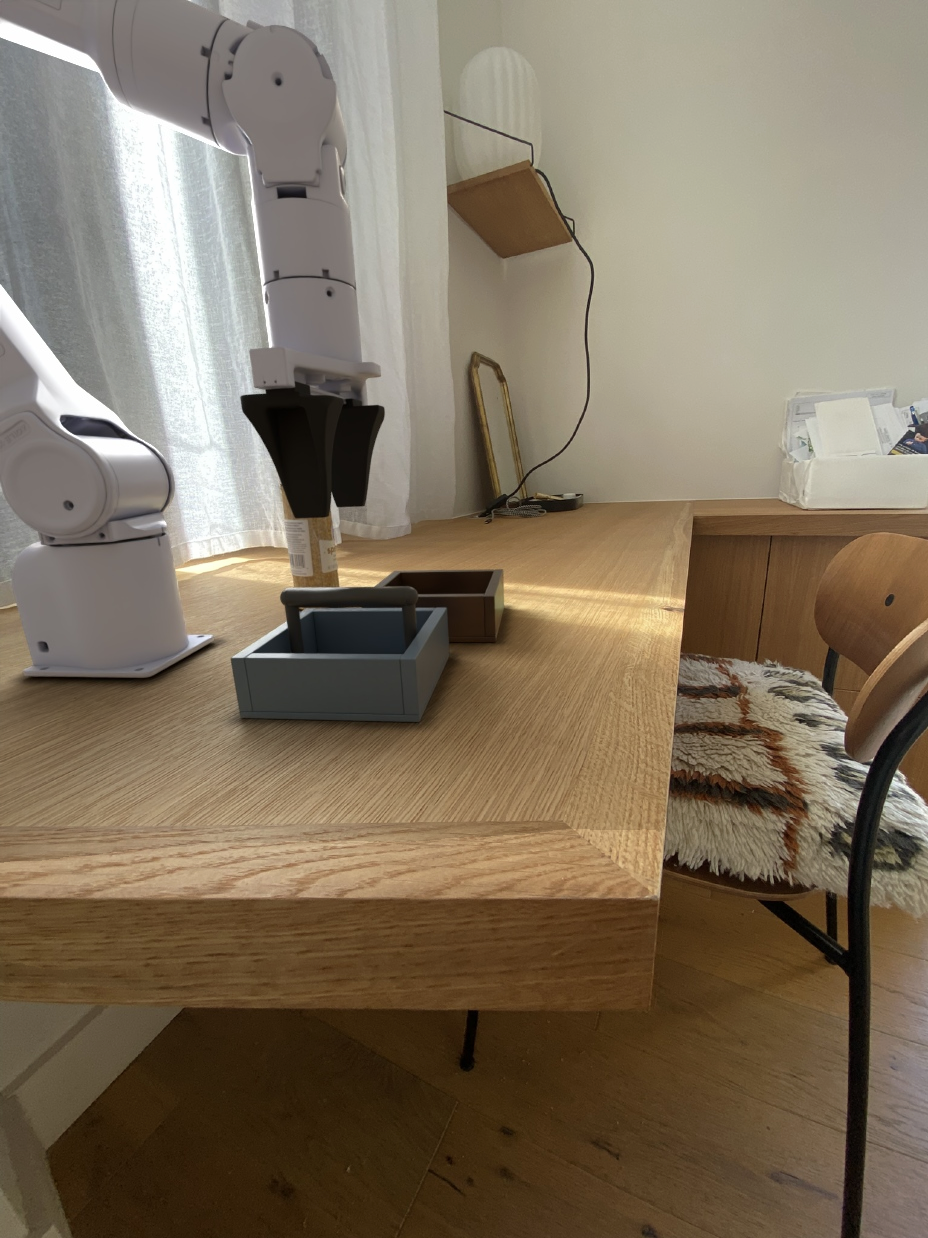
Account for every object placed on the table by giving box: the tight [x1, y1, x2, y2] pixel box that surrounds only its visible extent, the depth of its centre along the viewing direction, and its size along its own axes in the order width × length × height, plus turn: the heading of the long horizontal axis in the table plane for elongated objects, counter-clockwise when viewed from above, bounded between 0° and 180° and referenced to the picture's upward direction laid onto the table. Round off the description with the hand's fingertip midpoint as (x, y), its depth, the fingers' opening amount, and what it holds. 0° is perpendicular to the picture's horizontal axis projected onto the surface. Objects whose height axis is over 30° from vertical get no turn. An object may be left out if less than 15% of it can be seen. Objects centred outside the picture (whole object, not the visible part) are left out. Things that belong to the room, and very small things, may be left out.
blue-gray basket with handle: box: [230, 586, 450, 723], centre depth 34 cm, size 10×10×6 cm
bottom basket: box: [361, 568, 505, 643], centre depth 46 cm, size 10×10×4 cm
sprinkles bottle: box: [276, 472, 340, 611], centre depth 52 cm, size 5×5×14 cm
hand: (333, 511), depth 39 cm, fingers open, 7 cm apart
